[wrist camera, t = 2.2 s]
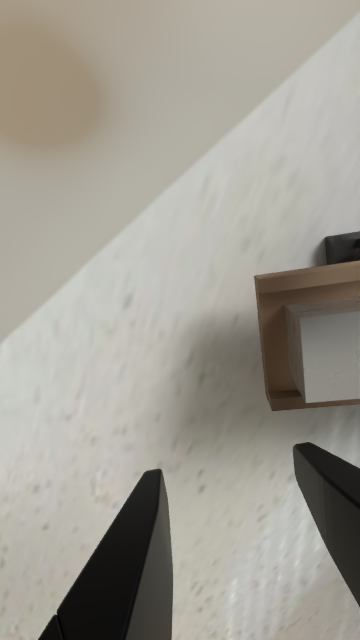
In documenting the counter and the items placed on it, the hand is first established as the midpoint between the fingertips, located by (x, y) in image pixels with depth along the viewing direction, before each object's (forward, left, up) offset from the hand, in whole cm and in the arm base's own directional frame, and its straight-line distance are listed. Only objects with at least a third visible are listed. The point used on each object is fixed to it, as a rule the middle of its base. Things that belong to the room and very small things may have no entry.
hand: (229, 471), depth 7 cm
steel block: (0, -8, -8) cm, 11 cm away
